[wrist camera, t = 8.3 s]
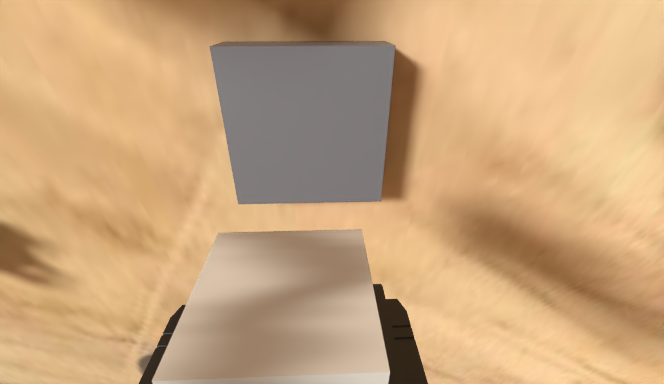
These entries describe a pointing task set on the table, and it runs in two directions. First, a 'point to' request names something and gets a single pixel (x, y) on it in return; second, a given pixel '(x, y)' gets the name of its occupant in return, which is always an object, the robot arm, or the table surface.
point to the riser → (305, 118)
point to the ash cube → (280, 314)
